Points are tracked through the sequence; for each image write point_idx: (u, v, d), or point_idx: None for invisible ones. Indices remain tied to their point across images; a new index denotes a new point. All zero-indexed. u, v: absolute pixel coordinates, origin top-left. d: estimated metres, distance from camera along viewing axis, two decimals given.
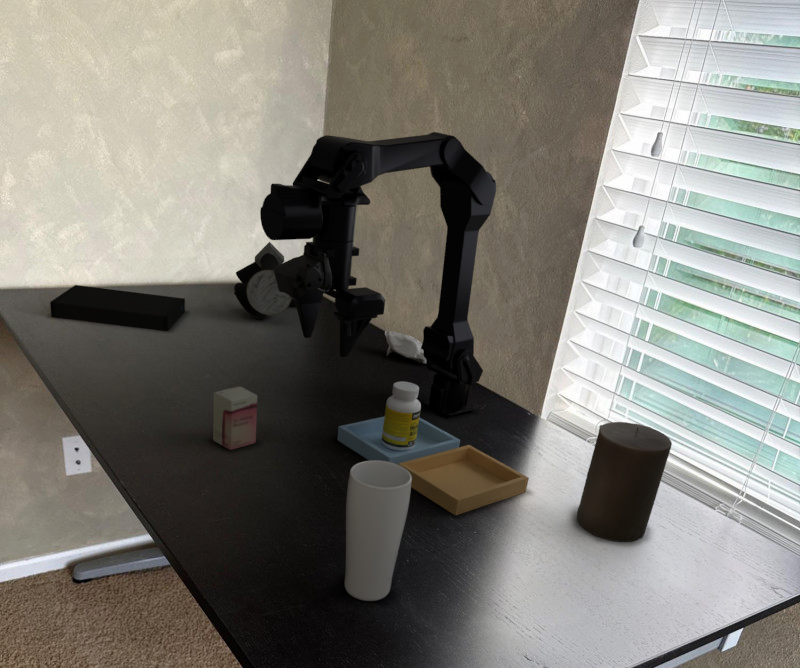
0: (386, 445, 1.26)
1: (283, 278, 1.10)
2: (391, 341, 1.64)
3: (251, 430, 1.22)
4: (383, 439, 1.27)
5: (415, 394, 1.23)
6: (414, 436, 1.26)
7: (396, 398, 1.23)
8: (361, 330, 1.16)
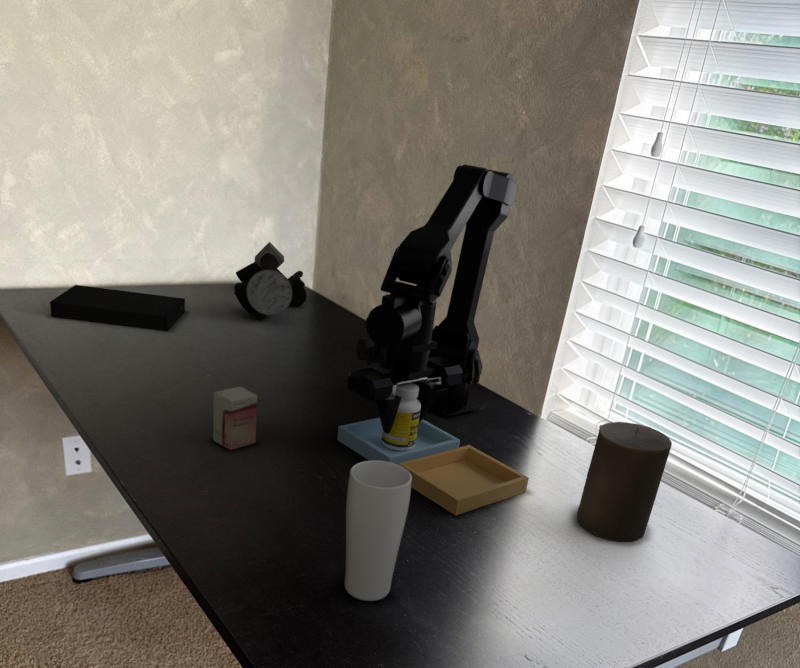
0: (386, 445, 1.26)
1: None
2: None
3: (251, 430, 1.22)
4: (383, 439, 1.27)
5: (415, 394, 1.23)
6: (414, 436, 1.26)
7: None
8: (388, 412, 1.21)
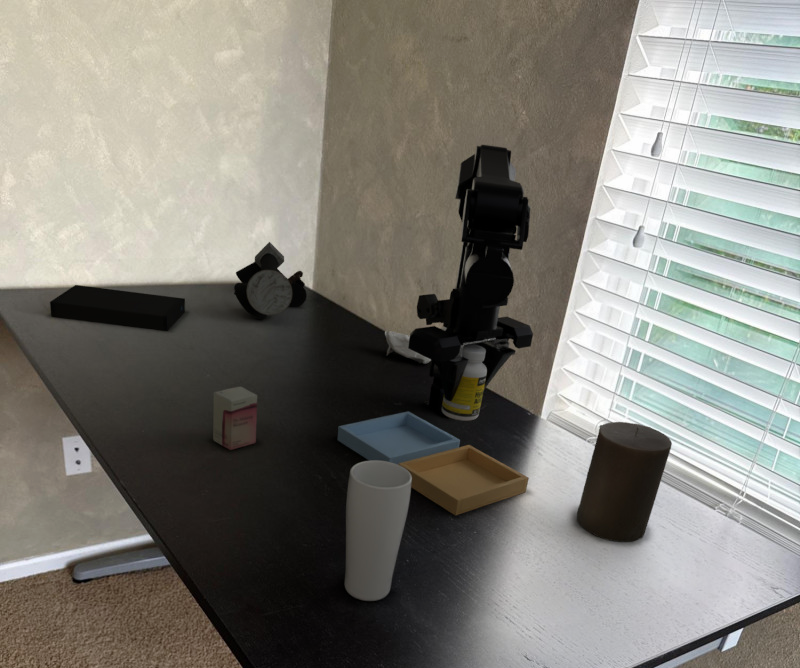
0: (447, 414, 1.14)
1: None
2: (391, 341, 1.64)
3: (251, 430, 1.22)
4: (444, 408, 1.14)
5: (482, 356, 1.10)
6: (479, 404, 1.14)
7: None
8: (453, 377, 1.09)
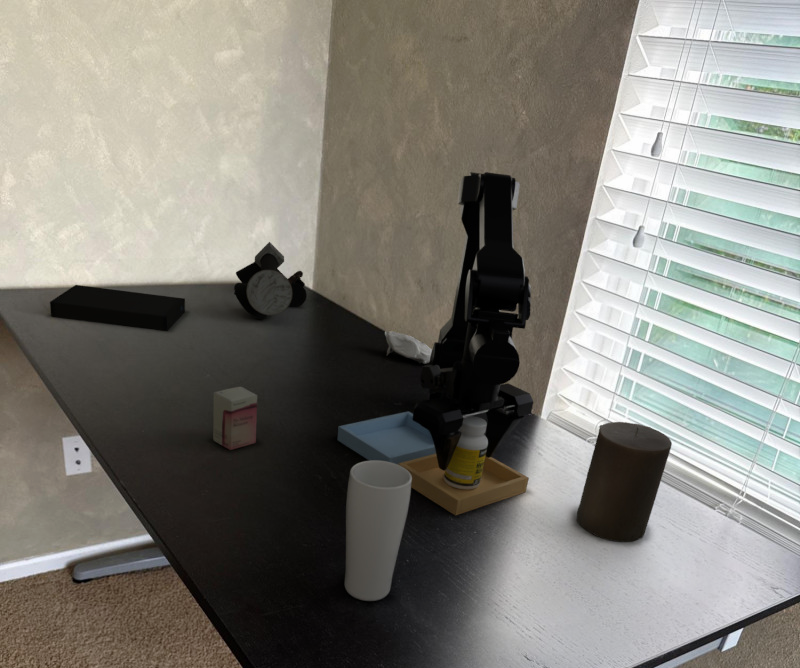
0: (449, 483, 1.18)
1: None
2: (391, 341, 1.64)
3: (251, 430, 1.22)
4: (446, 477, 1.18)
5: (483, 429, 1.14)
6: (480, 474, 1.17)
7: (462, 434, 1.14)
8: (447, 448, 1.11)
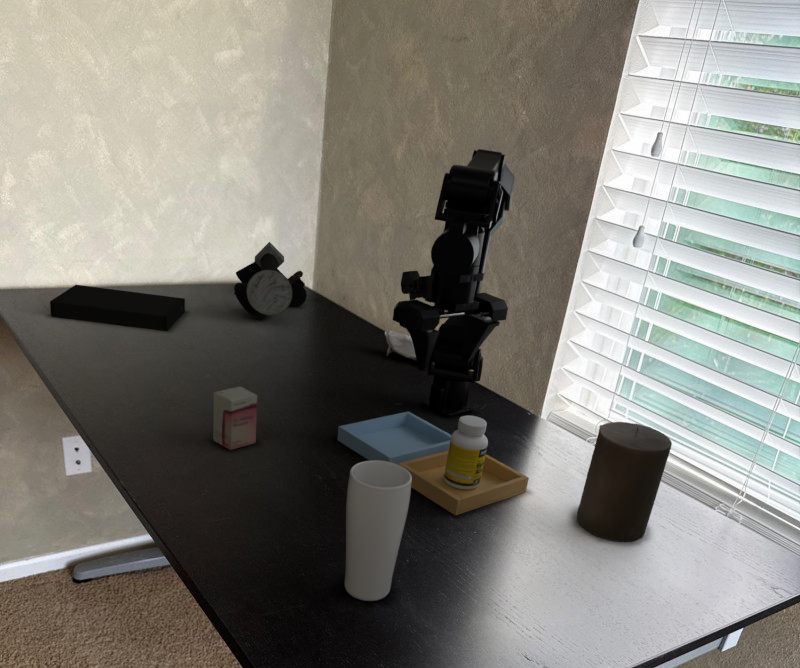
0: (449, 483, 1.18)
1: None
2: (391, 341, 1.64)
3: (251, 430, 1.22)
4: (446, 477, 1.18)
5: (483, 429, 1.14)
6: (480, 474, 1.17)
7: (462, 434, 1.14)
8: (425, 347, 1.18)
